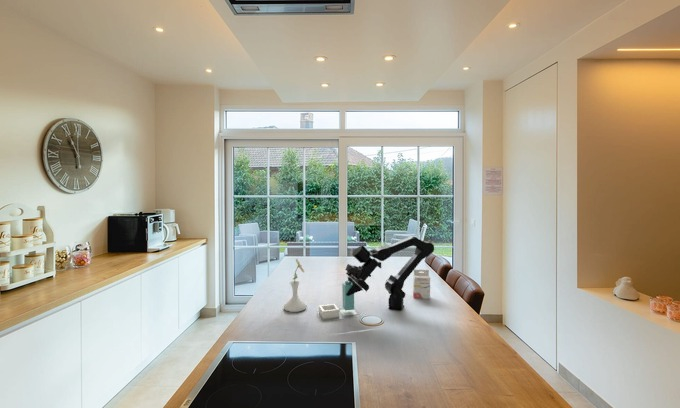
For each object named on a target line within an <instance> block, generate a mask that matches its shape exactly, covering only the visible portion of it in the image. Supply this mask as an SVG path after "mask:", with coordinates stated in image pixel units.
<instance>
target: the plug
mask: <svg viewBox="0 0 680 408" xmlns="http://www.w3.org/2000/svg"><path fill="white" fill-rule="evenodd" d="M352 285H353V283H352V282H351V281H348V280H346V281H344V282H342V285H341V286H342V287H341V288H342V308H344V309H345V310H354V308H355V293H354V294H352V295H350V296H347V295H346V294H347V292H348V291H349V289H350V288H351V287H352Z"/></svg>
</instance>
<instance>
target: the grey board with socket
mask: <svg viewBox="0 0 680 408" xmlns="http://www.w3.org/2000/svg"><path fill="white" fill-rule="evenodd" d="M315 312H316V314H317V316H318V318H319V319H320V321H321V322H329V321H334V320H336V321H337V320H344V319H351V318H358V317H359V318H360V317H362V314H361V313H359V312H358V310H356V308H355V307H354V310H345V309H344V308H343V307H340V308H339V307H338V306H337V305H336V304H335V303H331V304H322V305H321V304H320V305H318V310H315Z"/></svg>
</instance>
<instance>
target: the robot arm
mask: <svg viewBox="0 0 680 408" xmlns="http://www.w3.org/2000/svg"><path fill="white" fill-rule="evenodd" d="M412 246H414V247H415V250H414V253H413V255H412V256H411V257H410V258H409V260H408V261H407V262H406V263H405V264H404V266H403V267H402V268H401V269H400V270H399V271H398V273H397V274H395V275H392V274H390V275H389V277H388V278H387V280H385V284H384V288H385V290H386V291H387V292H388V294H389V298H388V309H389V310H396V311H402V310H403V309H404V307H405V304H404V298H406V292H405V291H404V290H403V288H404V285H405V281H406V280H407V279H408V278H409V276H410V275H411V274H412V273H413V272H414V270H416V267H418V265H419V264H420V263H421V261H423V260H424V259H426V258H428V257H429V256H430V255H431V254H433V253H434V251H435V246H434V243H432V242H429V241H426V240H421V239H419V238H417V236H413V235H409V236H408V237H406V238H404V239H401V240H399V241H397V242H394V243H392V244H389V245H382V246H377V247H375V248H374V249H372V250H368V249H367V248H366V247H365V246H364V245H363V244H362V245H360V246H358V247H356V248H355V249H354V250H353V251H352V253H351V255H352V256H353V257H354V259H356V261H358V263H360V264H362V265H355V264H354V265H352V264H349V263H347V264H346V267H345V271H346V272H345V274H346V275H347V281H351V282H352V283H353V285H352V287H351V288H350V289H349V291H348V292H347V294H346V295H347V296H350V295H352V294H354V295H355V294H356V293H359V292H360V291H365V292H368V291H369V289H370V285H369V284H368V283H367V282H366V280H367V279H368V278H371V277H372V275H371V274H372V273H373V272H374V270H375V269H376V268H379V269H382V262H384V261H386V260H387V259H389V258H391V257H392V255H393V254H396V253H398V252H401V251H403V250H405V249H407V248H410V247H412Z"/></svg>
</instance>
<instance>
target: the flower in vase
mask: <svg viewBox="0 0 680 408" xmlns="http://www.w3.org/2000/svg"><path fill="white" fill-rule="evenodd" d="M295 262H296V264H297V266H296V269H295V271H294V275H293V276H294V277H293V278H292V281H289V284H290V285H291V288H292V296H291V298H290V299H289V300H288V301H287V302H285V304H284V305H283V309H284V310H285V311H287V312H290V313H298V312H301V311H304V310H306V309H307V307H308V306H307V303H306V302H305V301H304V300H303V299H301V298H299V296H298V289H299V285H300V284H301V282H300V281H299V280H296V279H298V275H297V270H298V268H299V270H301V272H303V273H305V269H304V268H303V266H302V264H300V261H299V260H298V258H295Z"/></svg>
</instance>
